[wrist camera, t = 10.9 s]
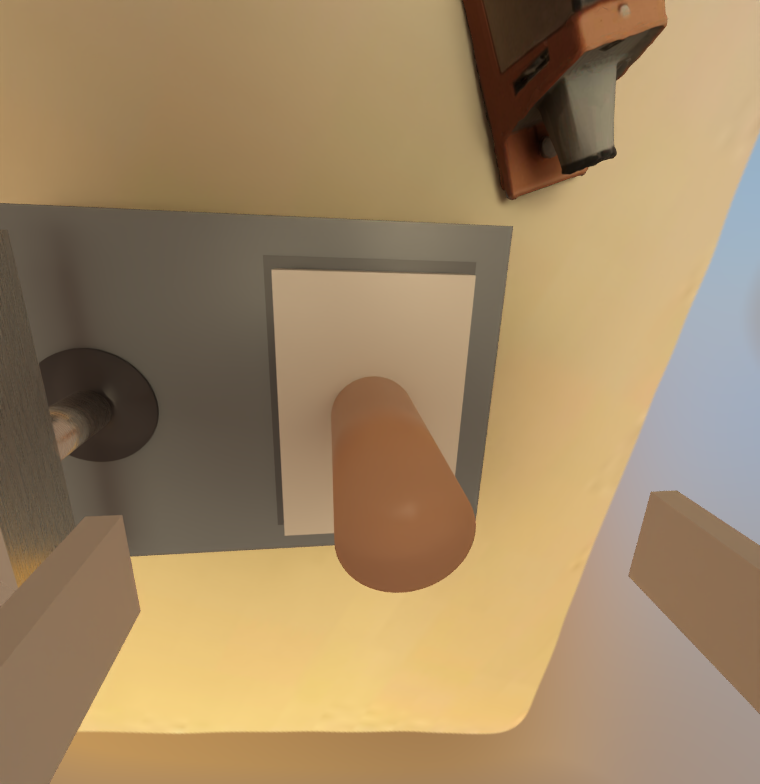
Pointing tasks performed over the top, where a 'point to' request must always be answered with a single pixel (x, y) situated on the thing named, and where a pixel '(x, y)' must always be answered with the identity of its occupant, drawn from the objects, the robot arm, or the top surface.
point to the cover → (375, 418)
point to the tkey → (33, 441)
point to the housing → (212, 354)
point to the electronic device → (555, 80)
